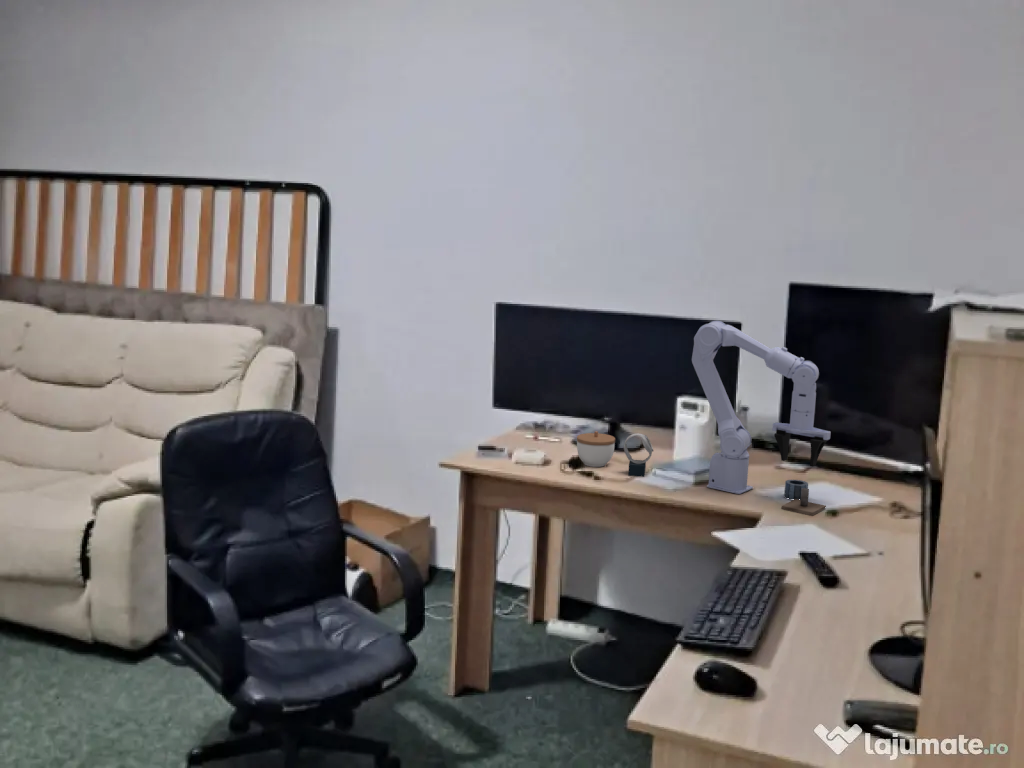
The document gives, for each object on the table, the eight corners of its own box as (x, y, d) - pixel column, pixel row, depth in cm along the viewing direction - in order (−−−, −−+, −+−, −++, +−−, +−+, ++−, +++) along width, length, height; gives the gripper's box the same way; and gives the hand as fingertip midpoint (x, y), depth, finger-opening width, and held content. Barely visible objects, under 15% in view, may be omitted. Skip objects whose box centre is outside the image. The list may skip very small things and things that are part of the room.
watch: (651, 477, 276) (653, 437, 274) (621, 475, 277) (623, 435, 275) (652, 472, 281) (654, 433, 279) (623, 469, 283) (625, 431, 281)
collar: (780, 497, 260) (781, 482, 260) (789, 493, 265) (791, 478, 264) (801, 502, 257) (802, 486, 256) (810, 497, 261) (811, 482, 261)
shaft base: (781, 508, 251) (782, 489, 250) (795, 502, 257) (796, 482, 256) (812, 515, 246) (814, 495, 245) (825, 508, 252) (827, 489, 251)
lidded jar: (571, 459, 292) (572, 427, 290) (607, 458, 294) (608, 426, 293) (582, 469, 282) (583, 436, 280) (619, 468, 284) (620, 435, 282)
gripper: (768, 408, 258) (764, 460, 261) (824, 417, 249) (819, 471, 252) (780, 404, 264) (776, 455, 266) (835, 412, 255) (831, 465, 257)
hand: (798, 462), depth 259 cm, fingers open, 7 cm apart
